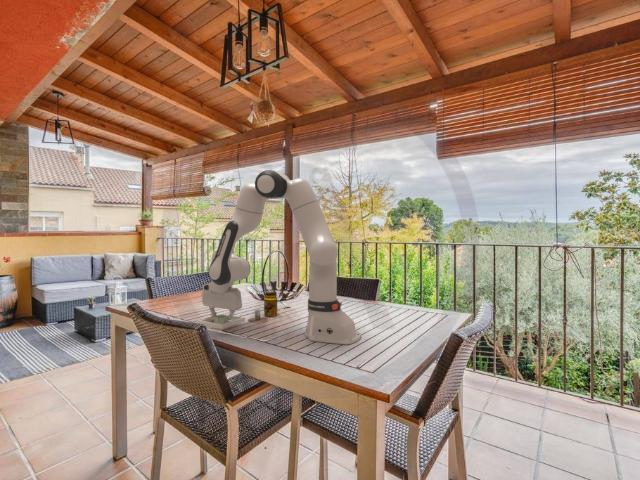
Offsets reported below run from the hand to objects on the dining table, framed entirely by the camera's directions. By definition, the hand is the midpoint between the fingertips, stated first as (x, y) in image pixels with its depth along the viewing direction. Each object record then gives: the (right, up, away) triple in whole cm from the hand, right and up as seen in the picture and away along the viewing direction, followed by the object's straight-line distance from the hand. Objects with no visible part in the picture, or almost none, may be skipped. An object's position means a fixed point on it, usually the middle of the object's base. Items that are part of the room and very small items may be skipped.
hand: (221, 317), depth 151 cm
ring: (0, -2, 0) cm, 2 cm away
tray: (0, -3, 0) cm, 3 cm away
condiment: (+19, -3, +14) cm, 24 cm away
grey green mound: (+15, -3, +5) cm, 16 cm away
